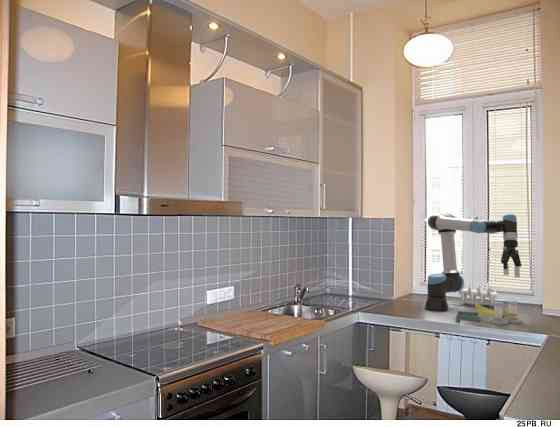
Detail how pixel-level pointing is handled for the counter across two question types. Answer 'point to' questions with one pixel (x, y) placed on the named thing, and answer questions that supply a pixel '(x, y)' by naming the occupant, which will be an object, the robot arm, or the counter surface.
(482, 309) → the plastic component
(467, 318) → the tray
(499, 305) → the plain fuse
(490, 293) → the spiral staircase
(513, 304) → the marked fuse
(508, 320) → the fuse block
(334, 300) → the counter surface
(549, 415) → the counter surface
